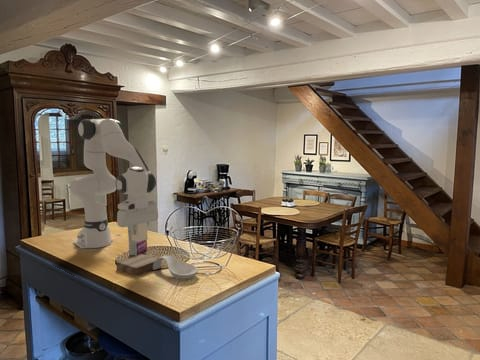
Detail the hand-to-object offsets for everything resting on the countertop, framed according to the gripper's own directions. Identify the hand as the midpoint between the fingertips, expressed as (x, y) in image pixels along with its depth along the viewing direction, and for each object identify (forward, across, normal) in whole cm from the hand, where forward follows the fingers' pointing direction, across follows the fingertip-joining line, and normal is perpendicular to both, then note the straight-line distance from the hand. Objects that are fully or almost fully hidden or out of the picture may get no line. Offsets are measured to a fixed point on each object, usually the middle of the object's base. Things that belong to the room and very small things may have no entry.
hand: (139, 233), depth 163 cm
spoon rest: (+17, -4, +18) cm, 25 cm away
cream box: (+3, 0, 0) cm, 3 cm away
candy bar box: (+17, -14, -20) cm, 30 cm away
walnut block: (+17, 0, -1) cm, 17 cm away
